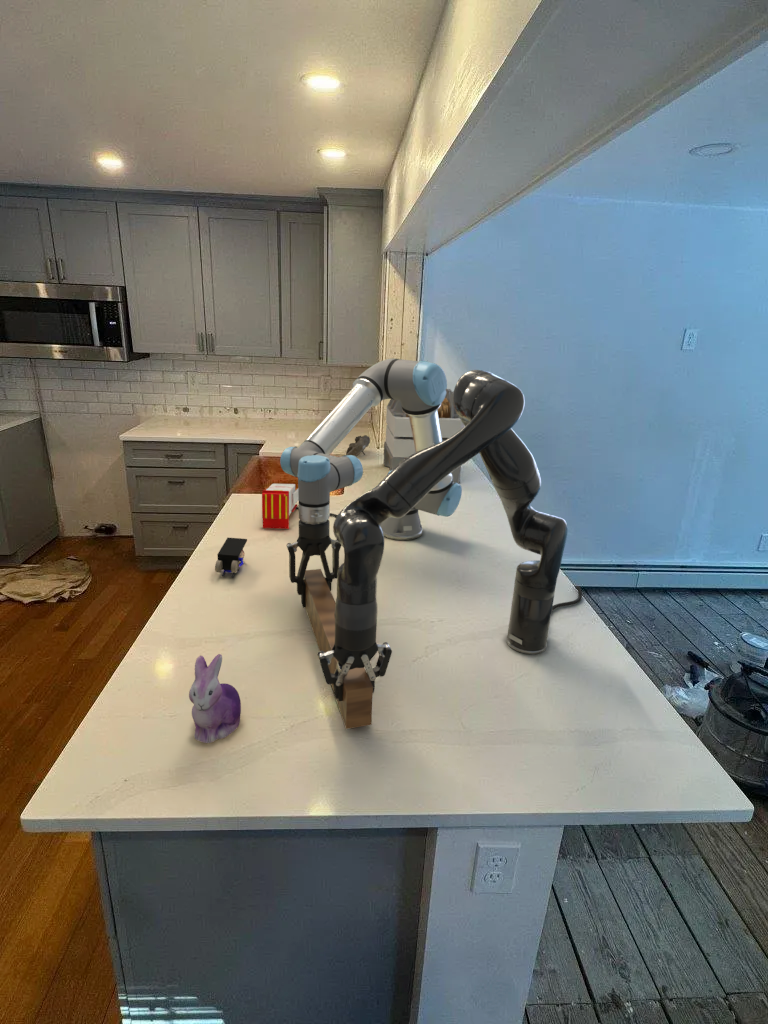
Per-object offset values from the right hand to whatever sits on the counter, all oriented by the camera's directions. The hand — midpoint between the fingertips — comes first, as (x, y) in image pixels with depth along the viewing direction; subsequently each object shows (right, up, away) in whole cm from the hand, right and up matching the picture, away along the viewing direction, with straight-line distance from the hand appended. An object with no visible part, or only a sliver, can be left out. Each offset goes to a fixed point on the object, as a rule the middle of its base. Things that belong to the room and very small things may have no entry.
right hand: (354, 695), depth 107 cm
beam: (-6, +3, +20) cm, 21 cm away
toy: (-33, +33, +105) cm, 115 cm away
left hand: (-12, +11, +39) cm, 42 cm away
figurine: (-25, -5, -2) cm, 26 cm away
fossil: (-8, +65, +197) cm, 207 cm away
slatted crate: (+23, +54, +168) cm, 178 cm away
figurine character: (-39, +18, +60) cm, 74 cm away
